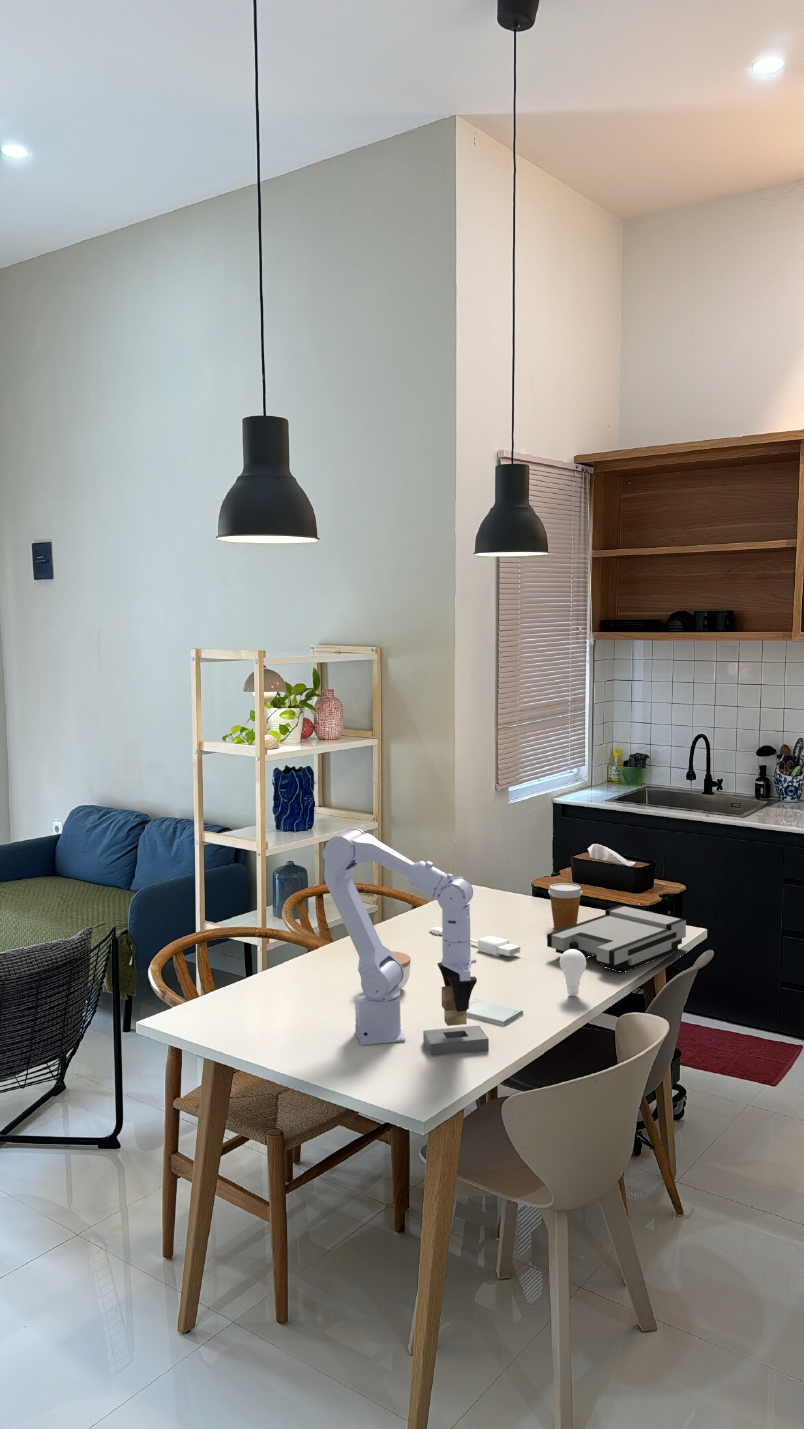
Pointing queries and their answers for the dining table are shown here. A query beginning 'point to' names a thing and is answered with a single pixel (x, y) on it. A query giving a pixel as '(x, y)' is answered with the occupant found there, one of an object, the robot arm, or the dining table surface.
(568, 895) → the disposable coffee cup
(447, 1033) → the block
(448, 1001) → the walnut plug
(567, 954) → the lightbulb
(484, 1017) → the hard drive
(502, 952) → the charging cable
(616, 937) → the game console
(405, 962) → the lidded jar
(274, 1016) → the dining table surface
